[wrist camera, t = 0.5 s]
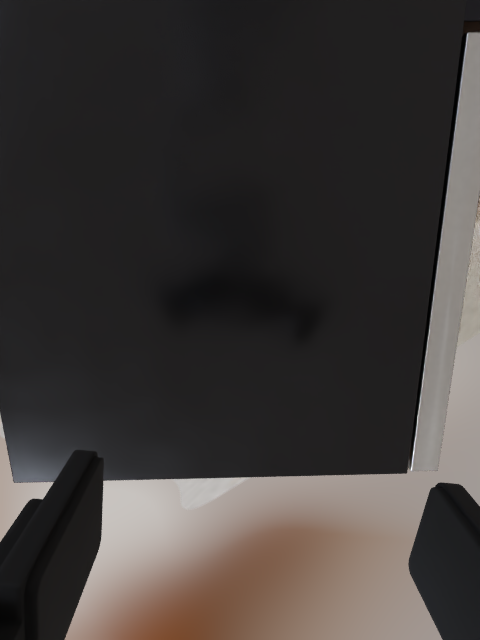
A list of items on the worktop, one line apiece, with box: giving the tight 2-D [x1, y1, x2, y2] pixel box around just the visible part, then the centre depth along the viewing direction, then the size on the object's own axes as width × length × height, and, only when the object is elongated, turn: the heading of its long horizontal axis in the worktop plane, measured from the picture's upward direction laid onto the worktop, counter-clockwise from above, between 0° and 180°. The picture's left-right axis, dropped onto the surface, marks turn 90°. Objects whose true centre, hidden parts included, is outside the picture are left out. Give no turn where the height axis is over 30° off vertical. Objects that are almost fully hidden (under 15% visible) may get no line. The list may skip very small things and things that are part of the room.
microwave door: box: [408, 32, 480, 471], centre depth 29 cm, size 8×22×20 cm, turn 0°
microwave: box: [0, 0, 480, 483], centre depth 28 cm, size 24×30×20 cm
